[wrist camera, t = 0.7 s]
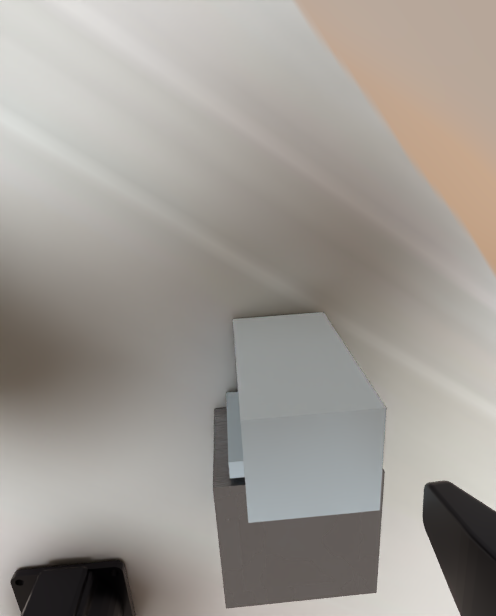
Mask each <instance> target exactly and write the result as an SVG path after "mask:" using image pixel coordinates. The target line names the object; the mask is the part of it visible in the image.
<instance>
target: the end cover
mask: <svg viewBox="0 0 496 616" xmlns="http://www.w3.org/2000/svg"><path fill="white" fill-rule="evenodd" d="M233 332H234V345H235V358H236V372H237V385H238V392H228V393H226V400H227V434H228V464H229V475H230V478H241V477H245V486H246V499H247V512H248V523H253V522H264V521H274V520H284V519H295V518H305V517H316V516H326V515H336V514H347V513H357V512H367V511H378V510H380V499H381V483H382V468H383V453H384V437H385V422H386V406H385V405H384V403H383V402H382V400H381V399H380V397H379V396H378V394H377V393H376V391H375V390H374V388H373V387H372V385H371V384H370V382H369V381H368V379H367V377H366V376H365V374H364V373H363V371H362V370H361V368H360V367H359V365H358V364H357V362H356V361H355V359H354V358H353V356H352V355H351V353H350V352H349V350H348V349H347V347H346V345H345V344H344V342H343V341H342V339H341V338H340V336H339V335H338V333H337V332H336V330H335V329H334V327H333V326H332V324H331V323H330V321H329V320H328V318H327V316H326V315H325V313H324V312H317V313H304V314H292V315H279V316H266V317H253V318H240V319H233Z"/></svg>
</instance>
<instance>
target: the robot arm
mask: <svg viewBox="0 0 496 616" xmlns="http://www.w3.org/2000/svg"><path fill="white" fill-rule="evenodd" d="M423 523H424V527H425V530H426V532H427V535H428V537H429V540H430V542H431V545H432V547H433V549H434V552H435V554H436V557H437V559H438V562H439V564H440V567H441V569H442V572H443V574H444V576H445V579H446V581H447V584H448V586H449V589H450V591H451V594H452V596H453V598H454V601H455V603H456V606H457V608H458V610H459V613H460V615H461V616H496V511H494V510H492V509H491V508H489V507H488V506H486V505H485V504H483V503H482V502H480V501H479V500H477V499H476V498H474V497H472V496H471V495H469V494H468V493H466V492H465V491H463V490H462V489H460V488H459V487H457V486H456V485H454V484H452V483H451V482H449V481H437V482H429V483H427V484H426V485H425V487H424V499H423ZM11 585H12V588H13V591H14V594H15V597H16V600H17V602H18V605H19V608H20V611H21V616H135V612H134V607H133V603H132V598H131V593H130V589H129V584H128V580H127V575H126V570H125V566H124V564H123V563H122V562H120V561H107V562H97V563H86V564H76V565H66V566H56V567H46V568H36V569H26V570H19V571H16V572H15V573H14V575H13V577H12V579H11Z"/></svg>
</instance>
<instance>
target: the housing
mask: <svg viewBox="0 0 496 616" xmlns="http://www.w3.org/2000/svg"><path fill="white" fill-rule="evenodd" d="M383 487H384V470H383V468H382V483H381V499H380V510H378V511H367V512H357V513H347V514H336V515H326V516H316V517H305V518H295V519H284V520H274V521H264V522H253V523H248V512H247V499H246V486H245V477H241V478H230V475H229V464H228V434H227V408H219V409H214V461H213V492H214V502H215V511H216V520H217V529H218V538H219V548H220V557H221V566H222V575H223V584H224V594H225V603H226V608H234V607H244V606H254V605H263V604H273V603H282V602H292V601H302V600H311V599H321V598H330V597H340V596H349V595H359V594H369V593H376V591H377V576H378V561H379V546H380V531H381V517H382V502H383Z"/></svg>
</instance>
